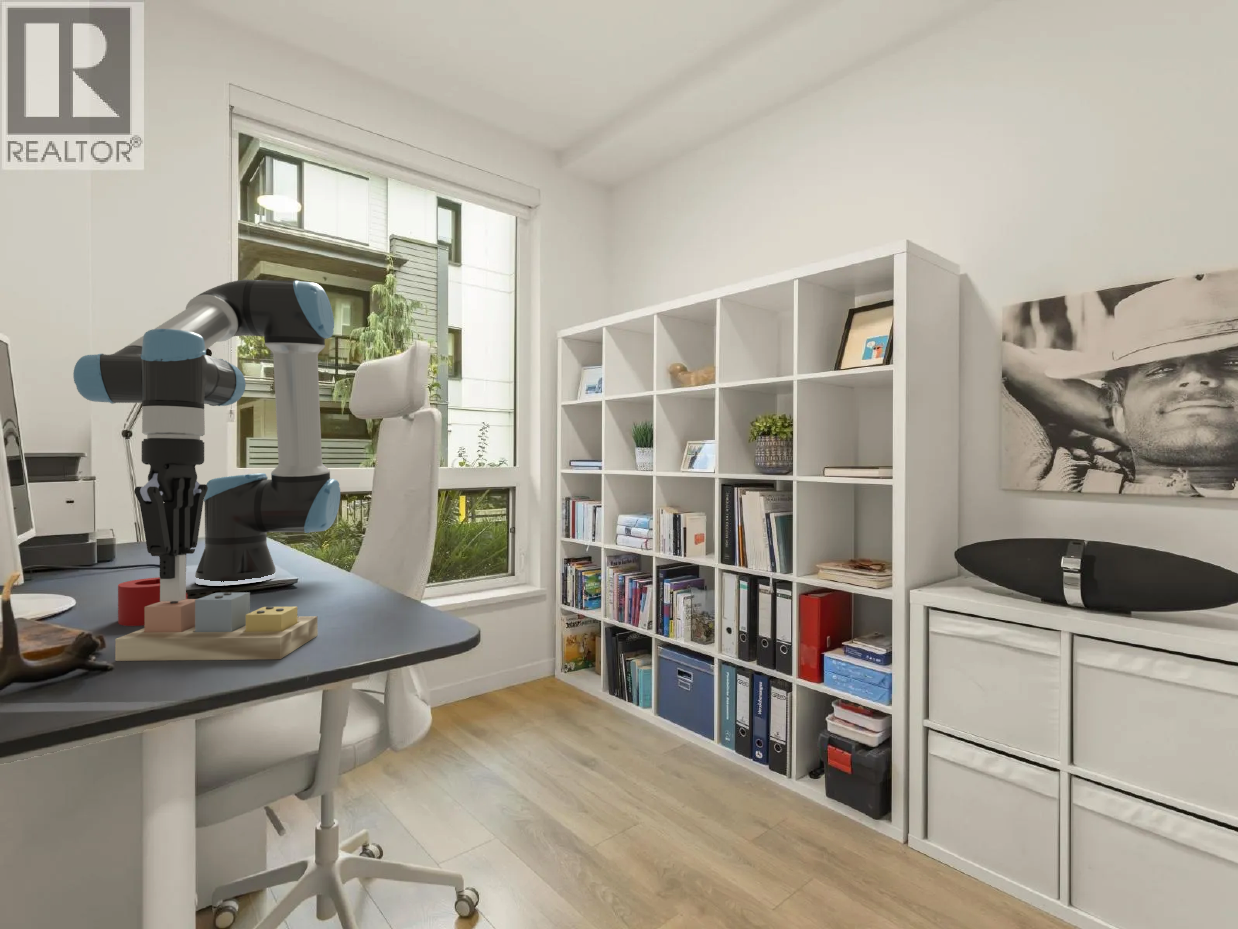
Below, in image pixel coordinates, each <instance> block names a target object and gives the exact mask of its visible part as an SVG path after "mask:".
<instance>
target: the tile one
mask: <svg viewBox="0 0 1238 929" xmlns="http://www.w3.org/2000/svg"><path fill="white" fill-rule="evenodd" d="M196 599H197V598H188V599H185V600H181V601H161V602H158V603H155V604H152V605H148V606H145V625H144V628H145V633H146V632H183V631H186V630H188V629H190V628H193V627H195V600H196Z"/></svg>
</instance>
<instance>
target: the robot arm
mask: <svg viewBox="0 0 1238 929" xmlns="http://www.w3.org/2000/svg"><path fill="white" fill-rule="evenodd" d="M334 328H335V318H334V313H333V308H332V305H331V302H330V299H329V296H328V295H327V293H326V291H325V289H324V288H323V287H322V286H321V285H319V283H316V282H311V281H310V282H309V281H300V280H274V279H273V280H270V279H269V280H268V279H267V280H266V279H265V280H264V279H262V280H261V279H259V280H258V279H241V280H240V279H238V280H234V281H229V282H226V283H222V284H221V285H220V284H218V285H217V286H215V287H212V288H210V289H208V290H205V291H203V292H201V293H199V294H198V295H196V296H193V298H191V299H190V300H189V301H188V302H187V304H186V307H185V309H184V310H182V311H181V312H179V313H178V314H176V315H174V316H173V317H171V318H169V319H168V320H166V321H165V322H163V323H162V324H160V325H159V326H156V327H155V328H154V329H152V328H151V329H149V330H146V332H144V334H143V336H140V337H139V338H137V339H135V340H134V341H133V342H131V343H129V344H127V345H126V346H124V347H123V348H122V349H120V350H117V351H116V352H114V353H111V354H105V353H98V354H87V355H83V356H81V357H80V358H79V359H78V360H77V361H76V363H75V365H74V366H73V367H74V368H73V374H72V375H73V383H74V384H75V386H76V390H77V392H78V393H79V394H80V395H81V397H83V398H84V399H86V400H88V401H90V402H95V403H98V402H99V403H109V404H112V405H113V404H141V406H142V416H141V419H142V420H141V433H142V434H143V435H145V436H146V438H143V440H141V463H142V464H144V465H149V471H148V475H147V482H146V483H145V484H144V485H143V486H136V487H135V488H134V492H133V493H134V494H135V497H136V499H137V501H138V503H139V508H140V513H141V514H140V515H141V520H142V526H143V532H144V538H145V544H146V549H147V553H148V554H150V556H152V557H159V577H160V601H181V600H185V599H186V593H187V592H186V591H187V589H186V588H187V580H186V579H187V554H189V555H191V554H195V551H196V549H195V548H197V546H198V540H199V532H200V529H201V528H200V527H201V520H202V514H203V508H204V549H203V552H202V554H201V557H200V560H199V563H198V565H197V568H196V571H195V573H194V576H195V577H196V578H199V579H204V580H210V581H221V582H222V581H223V582H224V581H238V580H245V579H252V578H261V577H264V576H268V575H272V574H274V573H275V572H276V570H277V569H276V566H275V562H274V560H273V557H272V555H271V552H270V548H269V547H268V542H267V535H268V534H267V533H306V534H309V533H315V532H325V531H327V530H328V529H330V528H331V527H332V526H333V524H334V522H335V520H336V518H337V516H338V513H339V508H340V502H341V487H340V482H339V481H338V480H337V479H335V478H331V471H330V469H329V468H328V467H327V466H325V465H324V464H323V457H322V456H323V454H322V431H321V428H322V427H321V411H320V409H321V406H320V405H321V403H320V384H319V383H320V382H319V380H320V379H319V359H318V358H319V353H320V352H322V350H324V348H326V344H325V343H326V339H330V338H331V337H333V335H334ZM240 336H241V337H244V336H245V337H246V336H247V337H263V339H264V341H263V342H264V345H265V346H266V347H267V349H269V350H270V351H271V352H272V356H273V375H274V376H273V378H274V393H275V394H274V397H275V400H274V401H275V417H276V418H275V419H276V437H277V455H278V456H277V457H278V464H277V467H275V468H274V469H273V470H272V471H271V473H270V476H271V479H268V476H267V474H266V473H265V472H259V473H248V474H238V475H230V476H222V477H217V478H216V477H215V478H212V479H210V480H209V481H208V482H207V483H205V484H201V483H199V481H198V474H197V471H196V466H197V465H198V466H199V465H201V466H202V465H203V464H204V462H205V442H204V441H203V440H202V439H201V437H203V436H205V432H206V430H205V428H206V427H205V421H206V420H205V405H209V406H212V407H215V406H217V407H225V406H230V405H233V404H235V403H237V402H238V401H239V400H240V399H241V398H242V396H243V395H244V394H245V391H246V386H247V385H246V384H247V383H246V379H245V375H244V374H243V372H242V371H241V370H240V368H238V367H237V366H236V365H234V364H233V363H230V362H228V360H224V359H223V358H217V357H214V356H210V355H207V350H208V349H209V348H210V347H212V346H213V345H214V344H216V343H219V342H220V343H221V342H222V343H223V342H225V341H228V340H230V339H231V338H233V337H240Z"/></svg>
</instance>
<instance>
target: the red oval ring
mask: <svg viewBox="0 0 1238 929" xmlns="http://www.w3.org/2000/svg"><path fill="white" fill-rule="evenodd" d="M188 597H189V595H188V592H186V599H189V598H188ZM158 602H161V601H160V576H158V577H148V578H147V577H146V578H139V579H132V580H129V581H124V582H121V583H118V584H117V624H118V625H120V626H125V627H138V626H139V627H140V626H141V627H142V626H145V606H148V605H152V604H155V603H158Z"/></svg>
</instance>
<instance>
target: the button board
mask: <svg viewBox="0 0 1238 929" xmlns="http://www.w3.org/2000/svg"><path fill="white" fill-rule="evenodd" d="M318 621H319V620H318V616H315V615H313V616H310V615H309V616H306V615H304V616H300V615H299V616H297V624H295V625H293V626H291V627H290V628H288V629H286V630H284V631H265V632H246V625H245V626H243V627H241V628H239V629H237V630H235V631H233V632H195V627H193V628H190V629H188V630H186V631H183V632H146V633H145V627H143V628H140V629H138V630H135V631H132V632H130V633H128V634H125V635H122V636H119V637H117V638H115V647H114V648H115V650H114V651H115V654H114V655H115V656H114V657H115V662H116V661H117V662H121V661H122V662H126V661H127V662H130V661H131V662H136V661H140V662H141V661H147V662H148V661H221V660H222V661H224V660H225V661H227V660H228V661H229V660H230V661H231V660H232V661H236V660H237V661H239V660H243V661H244V660H247V661H248V660H281V659H283V658H284V657H286V656H288V655H289V654H291V653H293V652H294V651H295V650H297V649H298V648H300V647H302V646H303V645H305V644H307V643H309V642H310V641H311V640H313V639H315V638H316V637H317V636H318V634H319V633H318V632H319V628H318V623H319V622H318Z"/></svg>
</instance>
